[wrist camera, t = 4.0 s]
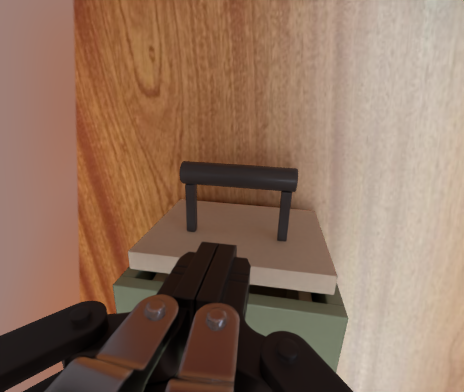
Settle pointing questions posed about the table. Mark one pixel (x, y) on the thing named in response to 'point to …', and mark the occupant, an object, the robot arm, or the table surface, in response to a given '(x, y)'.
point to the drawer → (243, 232)
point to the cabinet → (262, 313)
